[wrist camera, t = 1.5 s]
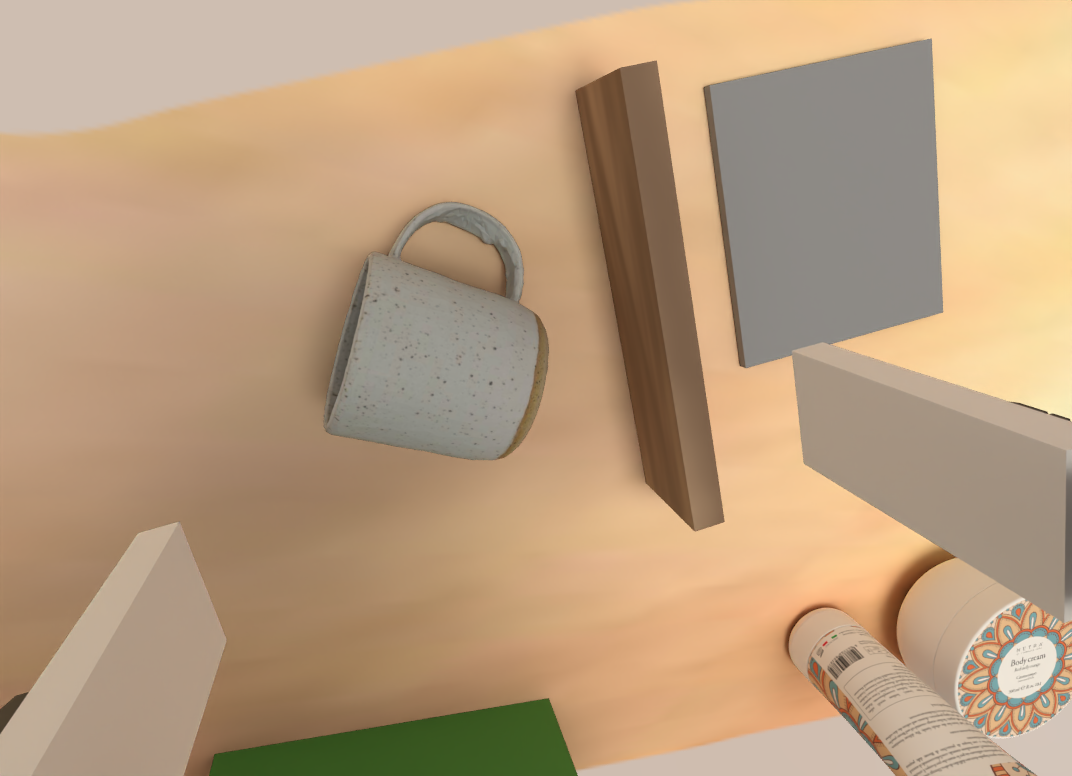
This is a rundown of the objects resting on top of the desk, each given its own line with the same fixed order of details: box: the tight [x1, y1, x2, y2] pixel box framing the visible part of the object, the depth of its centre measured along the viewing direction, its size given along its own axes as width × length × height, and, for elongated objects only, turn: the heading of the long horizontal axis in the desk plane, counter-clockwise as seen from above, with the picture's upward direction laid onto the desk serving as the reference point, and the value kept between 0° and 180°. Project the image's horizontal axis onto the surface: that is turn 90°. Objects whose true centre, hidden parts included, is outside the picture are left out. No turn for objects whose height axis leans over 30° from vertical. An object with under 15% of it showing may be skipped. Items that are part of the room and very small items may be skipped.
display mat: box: [704, 39, 943, 368], centre depth 37 cm, size 12×14×1 cm
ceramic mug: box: [324, 202, 549, 460], centre depth 30 cm, size 11×8×8 cm
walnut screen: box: [576, 61, 724, 531], centre depth 33 cm, size 2×20×6 cm, turn 12°
